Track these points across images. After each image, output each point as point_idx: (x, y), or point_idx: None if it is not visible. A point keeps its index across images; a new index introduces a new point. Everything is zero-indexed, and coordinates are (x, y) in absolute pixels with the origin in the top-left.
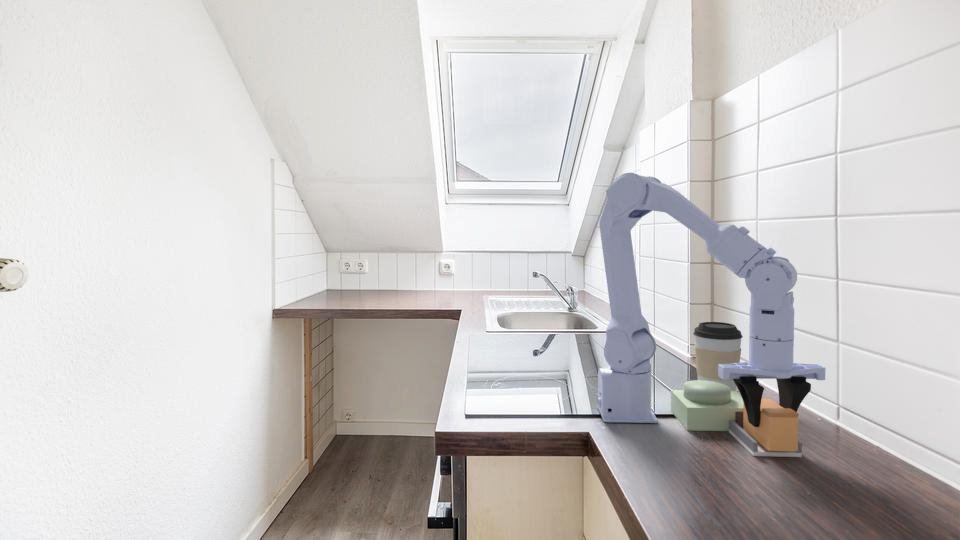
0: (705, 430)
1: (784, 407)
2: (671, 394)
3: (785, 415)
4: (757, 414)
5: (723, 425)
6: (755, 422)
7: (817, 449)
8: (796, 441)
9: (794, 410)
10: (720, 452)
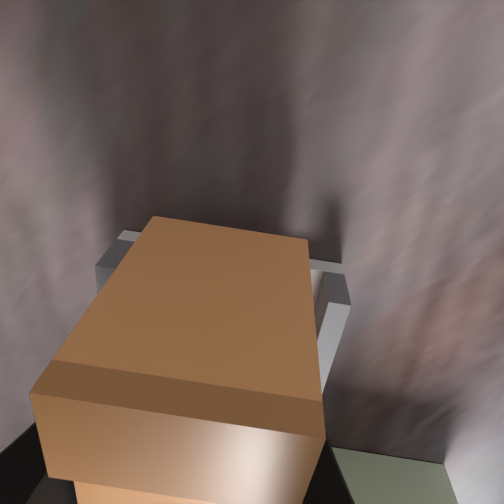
0: (374, 454)
1: (69, 502)
2: None
3: (163, 395)
4: (318, 465)
5: None
6: None
7: (18, 281)
8: (143, 242)
9: (22, 455)
10: (465, 310)
